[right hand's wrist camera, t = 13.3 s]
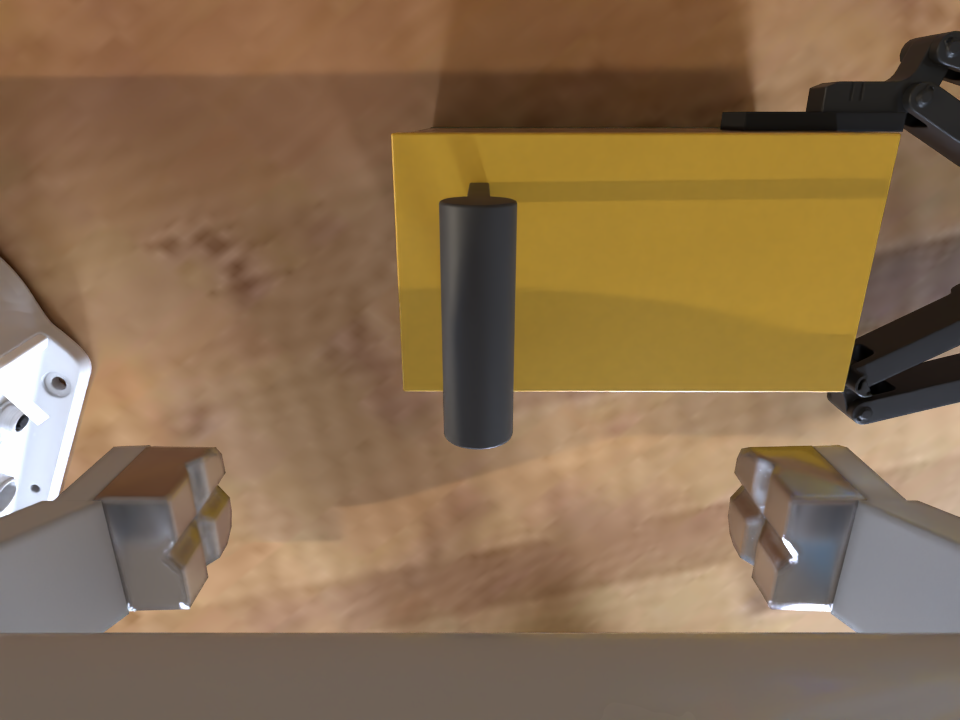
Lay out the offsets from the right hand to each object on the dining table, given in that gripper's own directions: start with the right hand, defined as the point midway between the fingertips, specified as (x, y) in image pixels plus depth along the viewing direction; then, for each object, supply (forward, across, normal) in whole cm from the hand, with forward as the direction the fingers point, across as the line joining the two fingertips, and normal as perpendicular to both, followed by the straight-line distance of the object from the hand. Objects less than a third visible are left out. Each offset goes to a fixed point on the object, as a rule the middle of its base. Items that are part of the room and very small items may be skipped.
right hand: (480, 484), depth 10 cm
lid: (+16, -6, 0) cm, 17 cm away
